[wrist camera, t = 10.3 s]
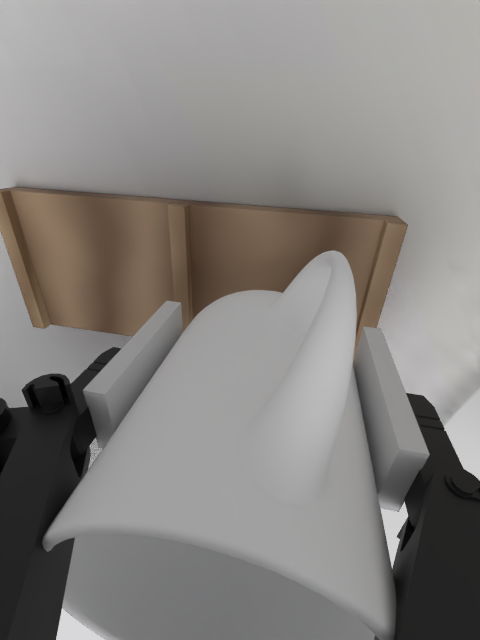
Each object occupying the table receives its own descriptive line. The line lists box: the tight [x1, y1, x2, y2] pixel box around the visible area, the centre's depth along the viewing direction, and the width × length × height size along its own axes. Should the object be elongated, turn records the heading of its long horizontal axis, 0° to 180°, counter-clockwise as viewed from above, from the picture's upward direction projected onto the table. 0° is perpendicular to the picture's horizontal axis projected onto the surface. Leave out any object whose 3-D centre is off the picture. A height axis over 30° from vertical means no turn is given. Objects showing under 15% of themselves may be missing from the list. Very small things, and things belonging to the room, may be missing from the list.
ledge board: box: [0, 187, 408, 361], centre depth 21 cm, size 25×10×2 cm, turn 88°
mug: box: [42, 250, 396, 640], centre depth 11 cm, size 9×12×11 cm
